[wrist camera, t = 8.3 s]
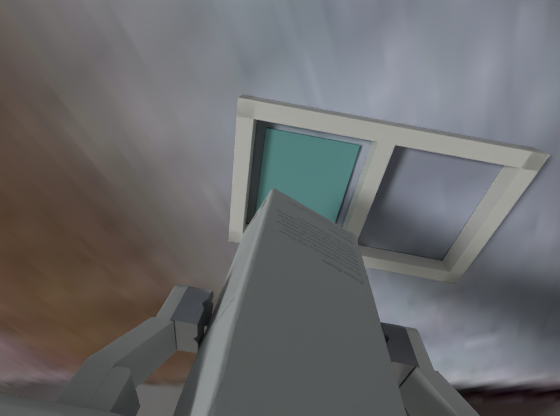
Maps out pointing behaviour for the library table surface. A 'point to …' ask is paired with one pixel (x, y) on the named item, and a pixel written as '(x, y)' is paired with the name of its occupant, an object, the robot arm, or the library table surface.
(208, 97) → the library table surface
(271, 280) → the skincare box
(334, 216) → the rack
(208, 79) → the library table surface
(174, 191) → the library table surface
